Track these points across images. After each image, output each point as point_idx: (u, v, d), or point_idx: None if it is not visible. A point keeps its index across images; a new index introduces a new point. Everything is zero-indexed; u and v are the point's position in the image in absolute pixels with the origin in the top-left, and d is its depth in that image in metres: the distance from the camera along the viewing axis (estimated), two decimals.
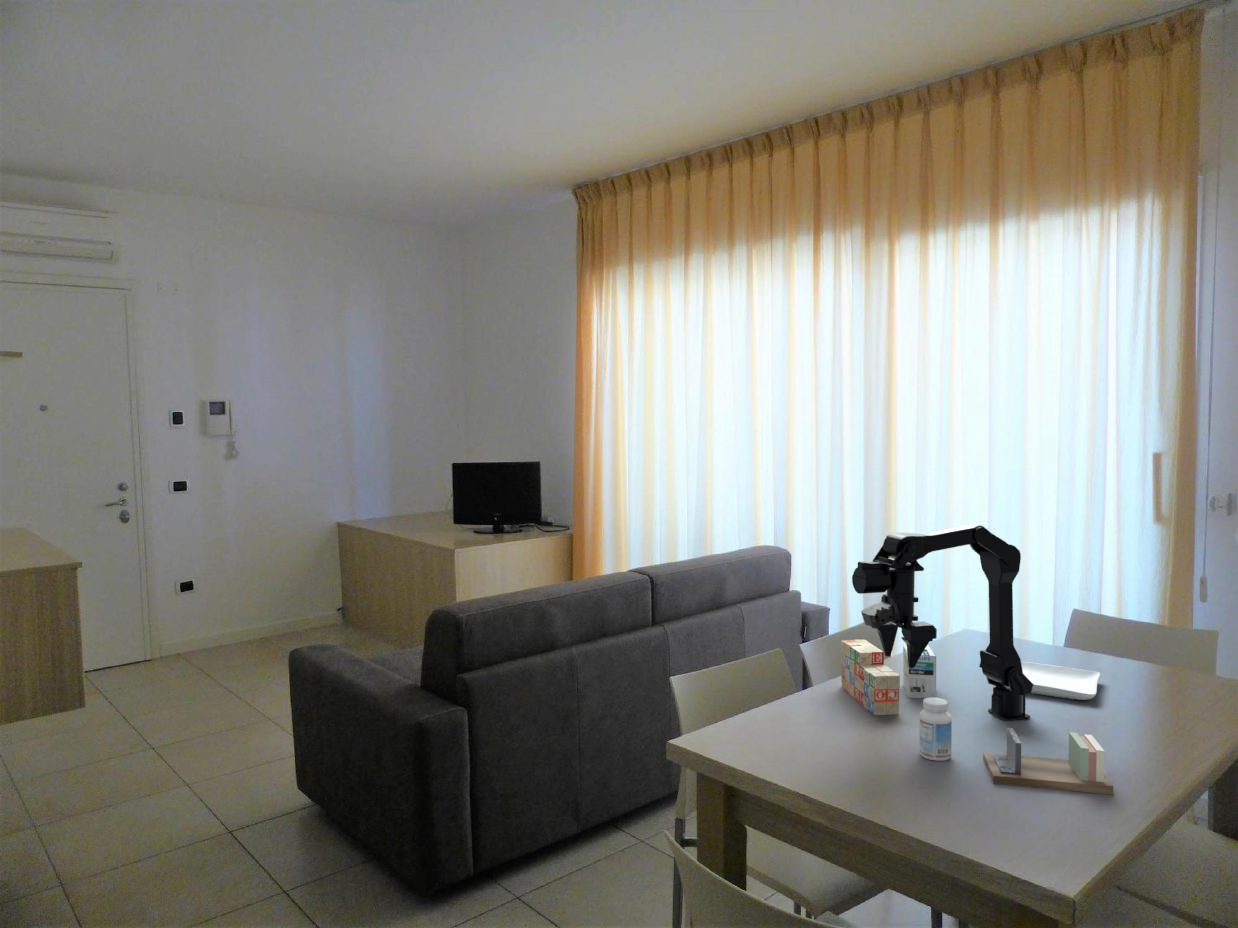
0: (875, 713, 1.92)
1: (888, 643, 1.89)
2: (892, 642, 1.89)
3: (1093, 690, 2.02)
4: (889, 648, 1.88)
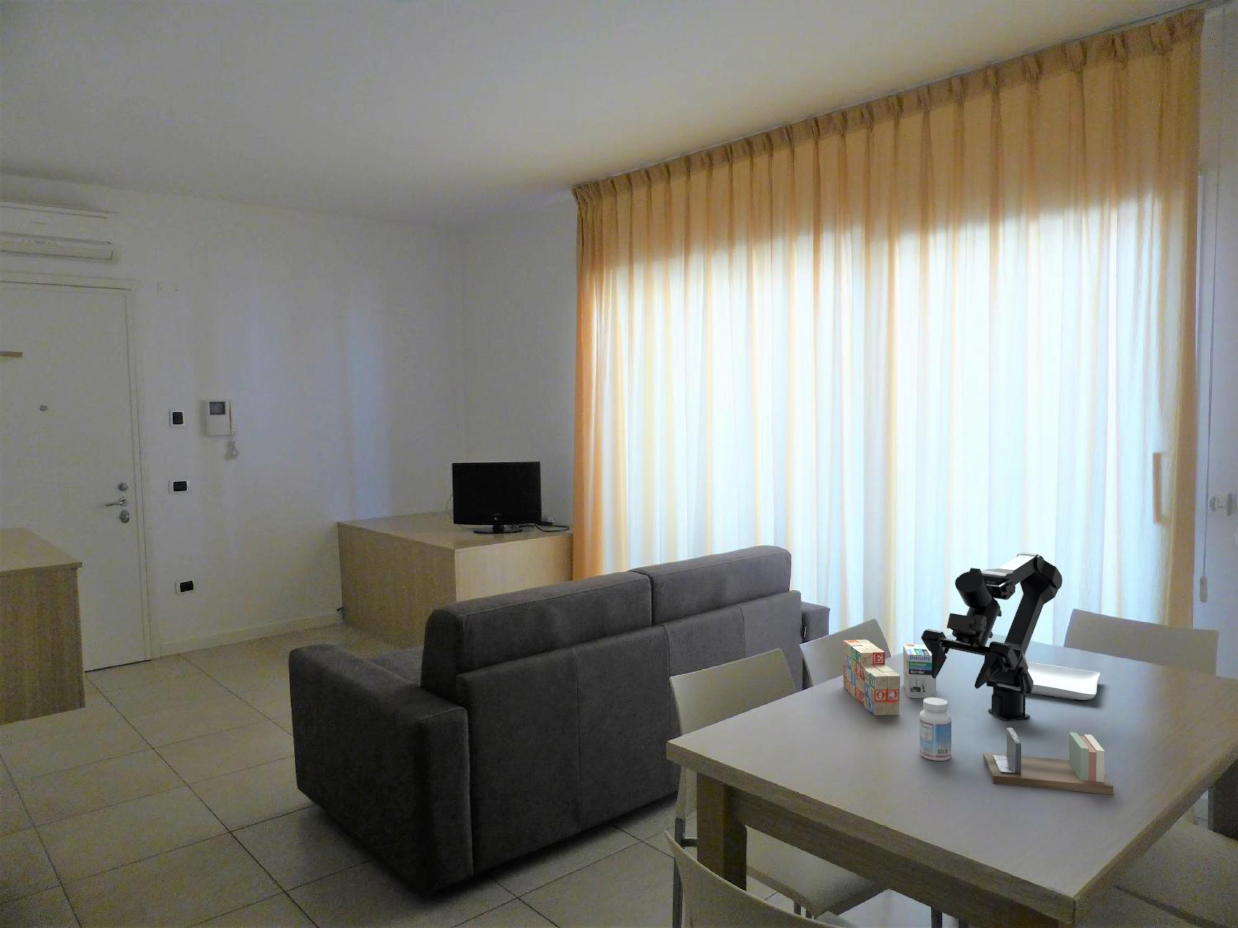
0: (875, 713, 1.92)
1: (938, 666, 1.78)
2: (939, 668, 1.79)
3: (1093, 690, 2.02)
4: (937, 671, 1.78)
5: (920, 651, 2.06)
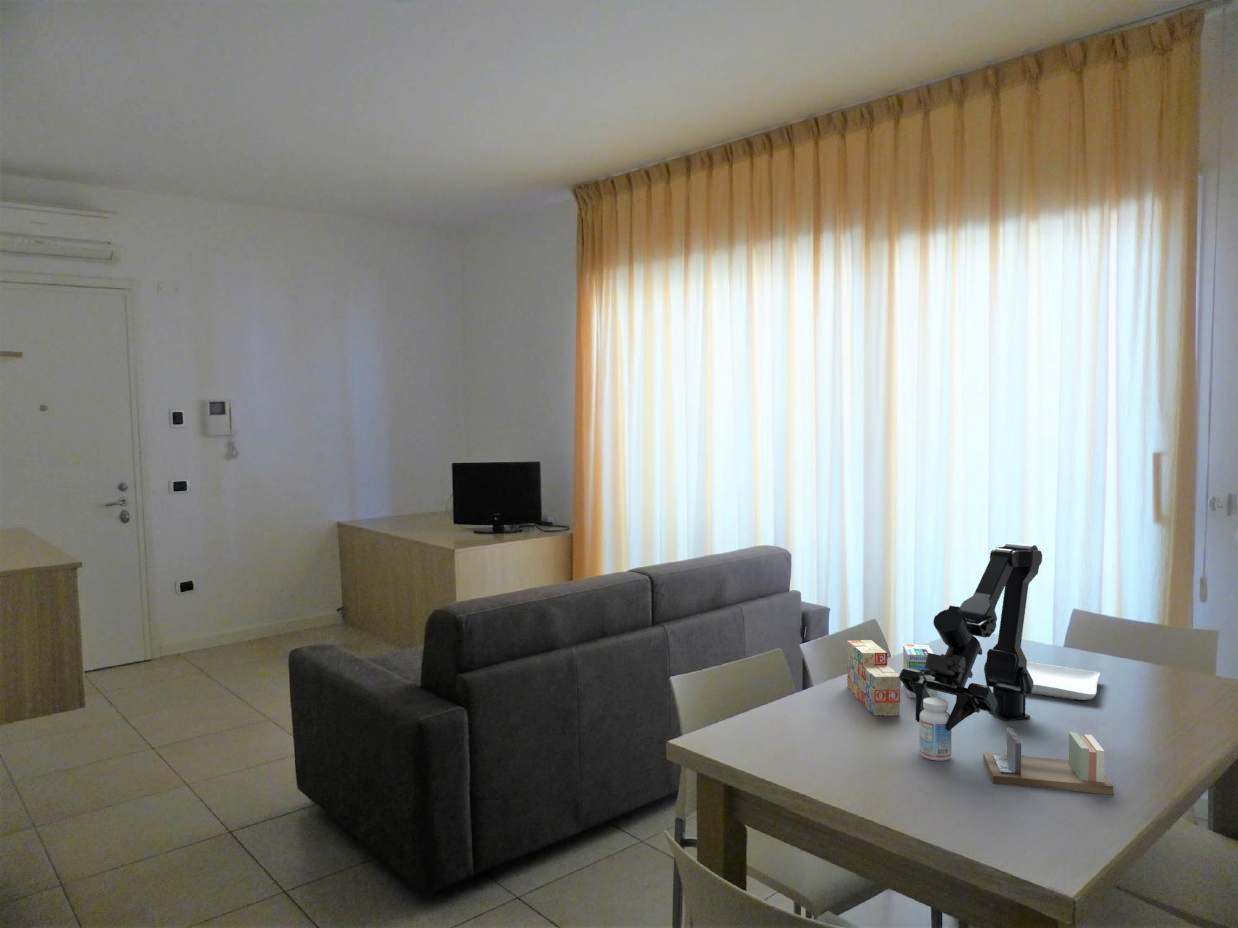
0: (875, 713, 1.92)
1: (922, 709, 1.72)
2: None
3: (1093, 690, 2.02)
4: None
5: (920, 651, 2.06)
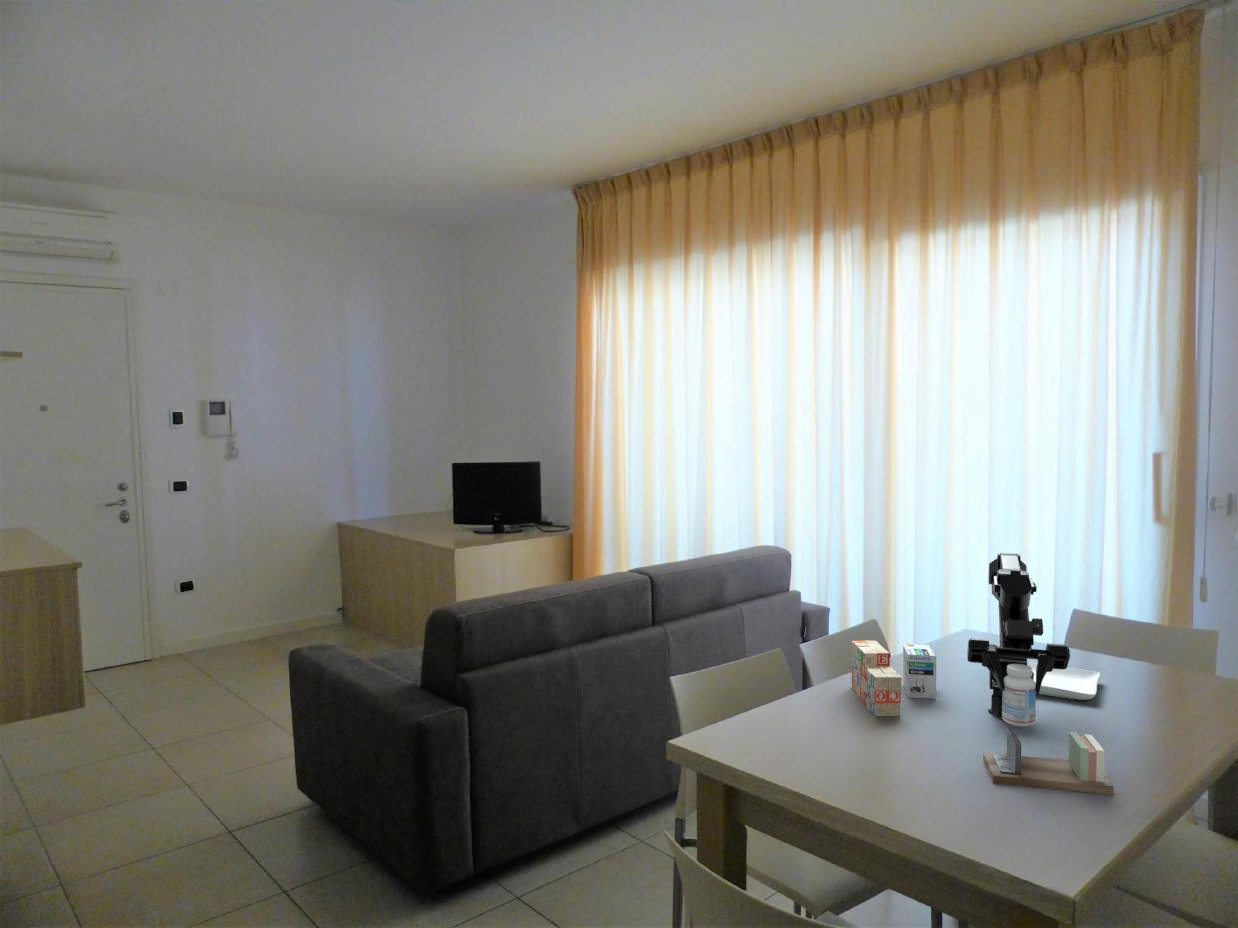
0: (875, 714, 1.92)
1: None
2: None
3: (1093, 690, 2.02)
4: None
5: (920, 651, 2.06)
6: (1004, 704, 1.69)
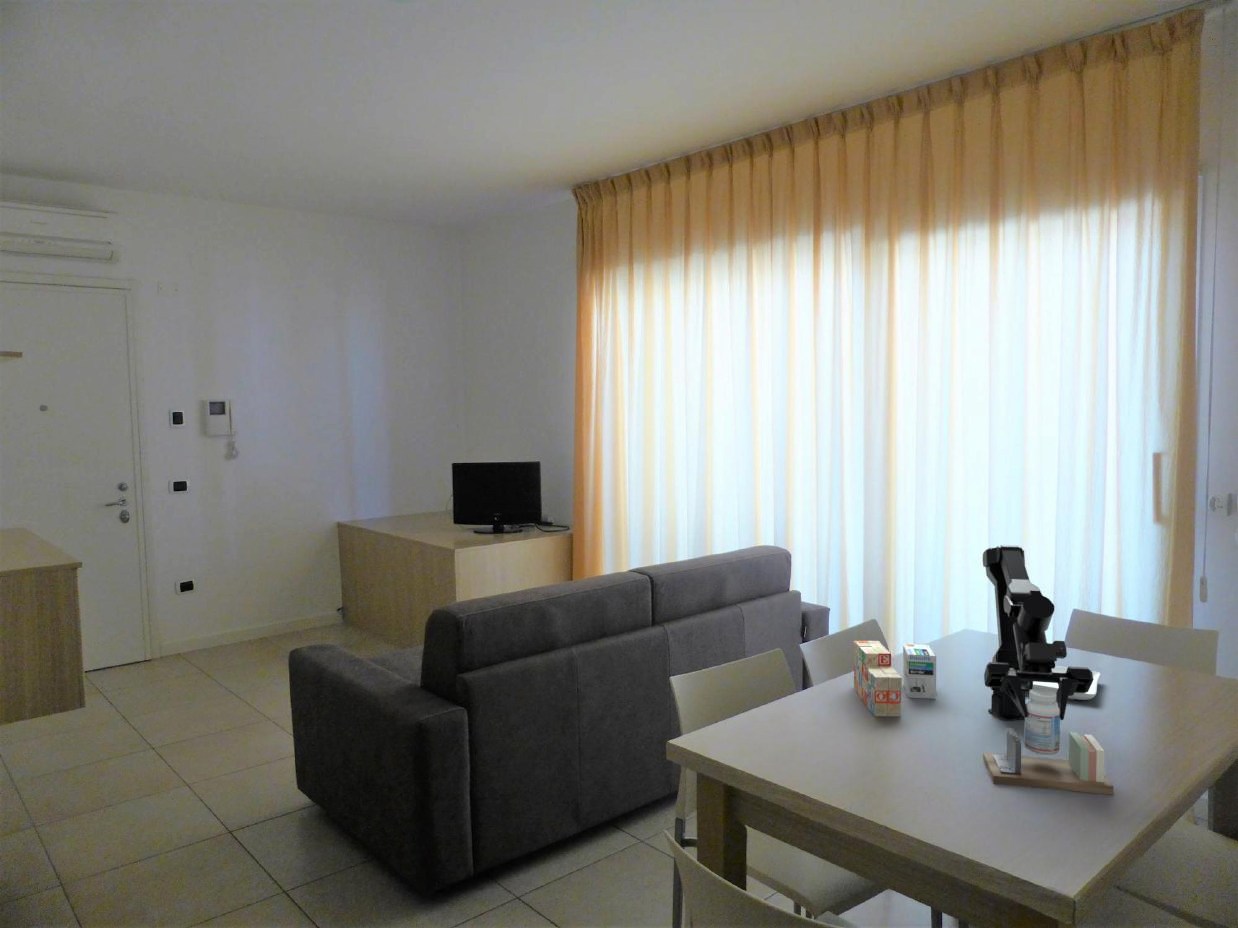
0: (875, 714, 1.92)
1: None
2: None
3: (1093, 690, 2.02)
4: None
5: (920, 651, 2.06)
6: (1027, 731, 1.61)
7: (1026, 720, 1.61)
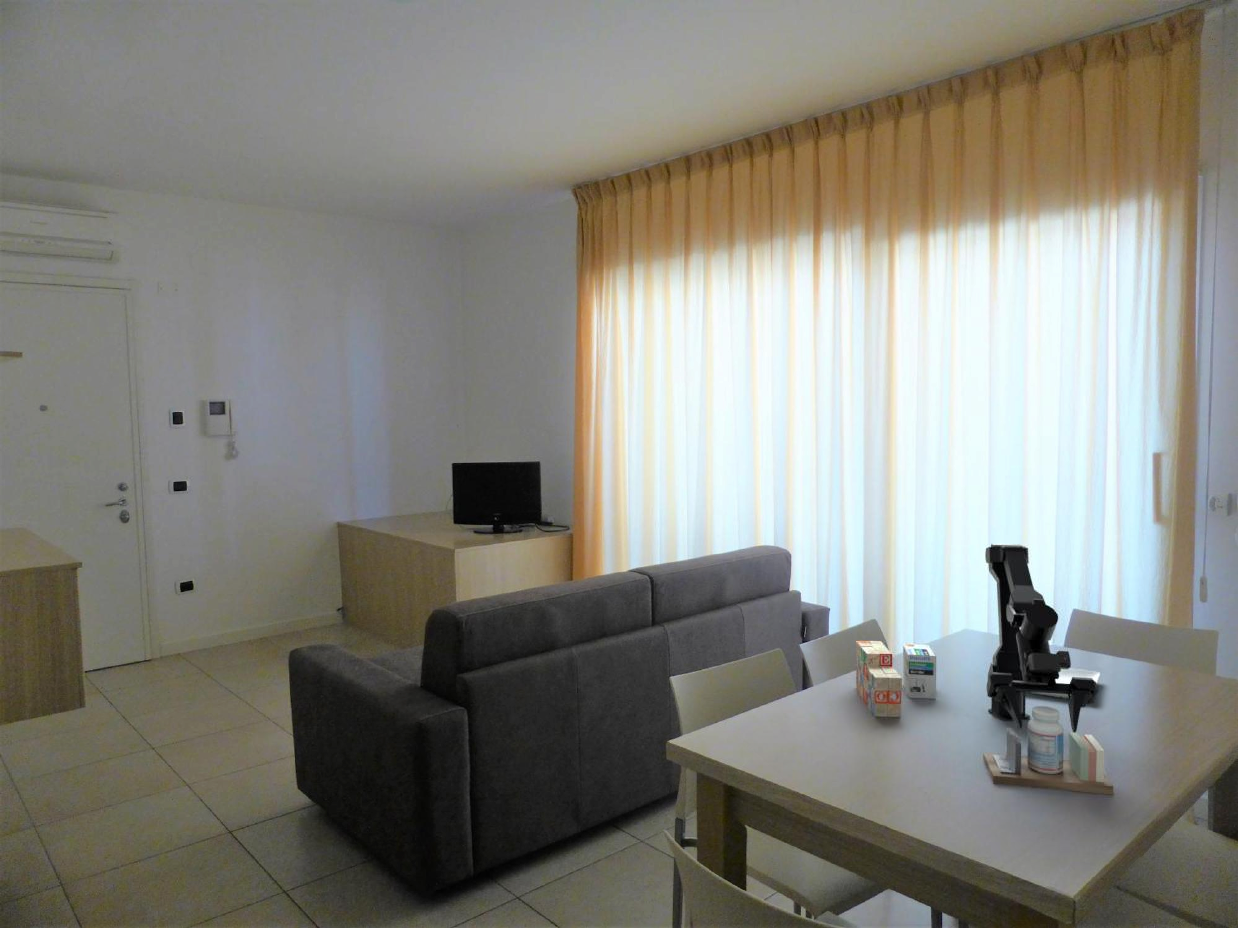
0: (875, 714, 1.92)
1: None
2: None
3: None
4: None
5: (920, 651, 2.06)
6: (1030, 750, 1.58)
7: (1029, 739, 1.59)
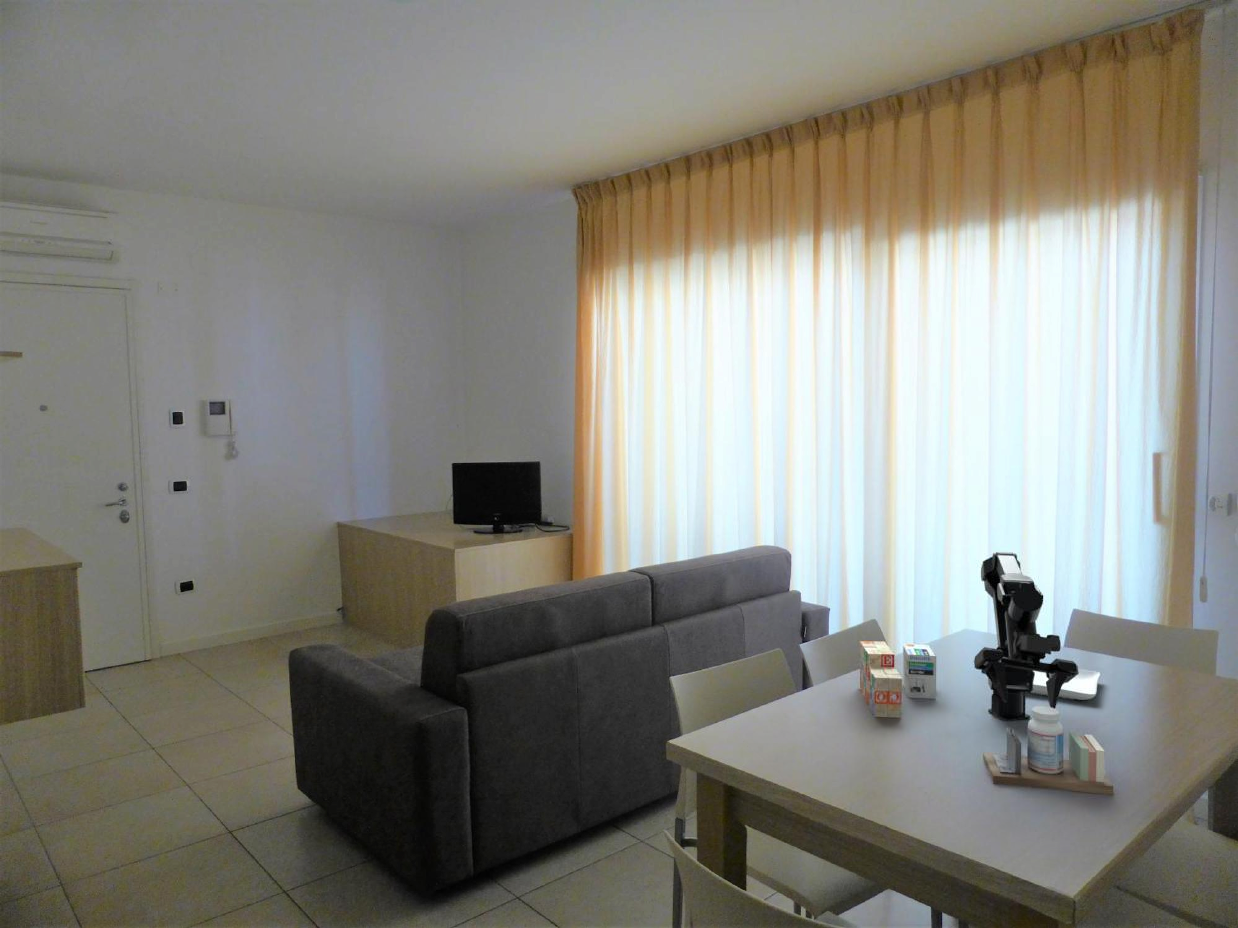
0: (876, 715, 1.91)
1: None
2: None
3: (1093, 690, 2.02)
4: None
5: (920, 651, 2.06)
6: (1030, 750, 1.58)
7: (1029, 739, 1.59)
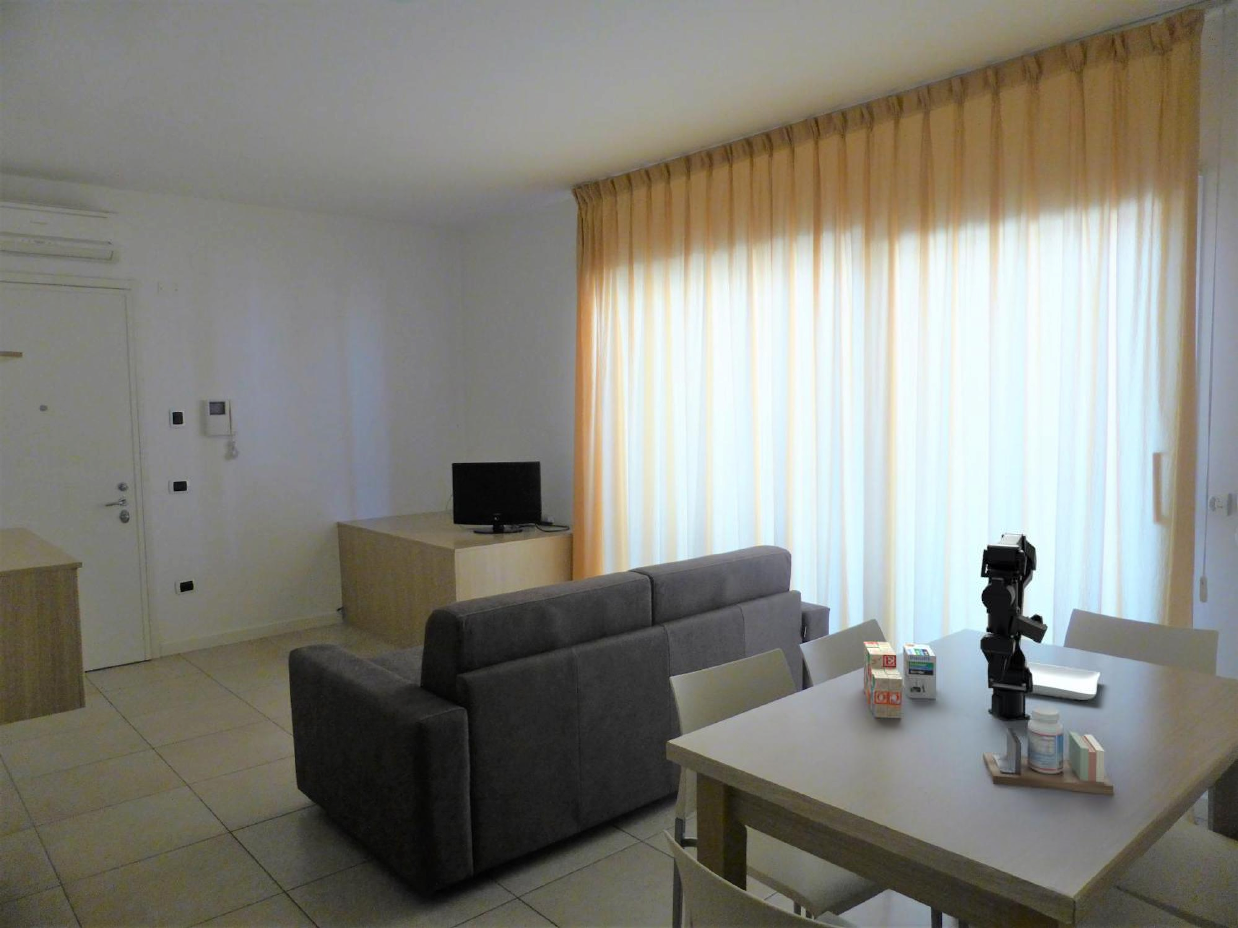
0: (875, 715, 1.91)
1: None
2: None
3: (1093, 690, 2.02)
4: None
5: (920, 651, 2.06)
6: (1030, 750, 1.58)
7: (1029, 739, 1.59)
